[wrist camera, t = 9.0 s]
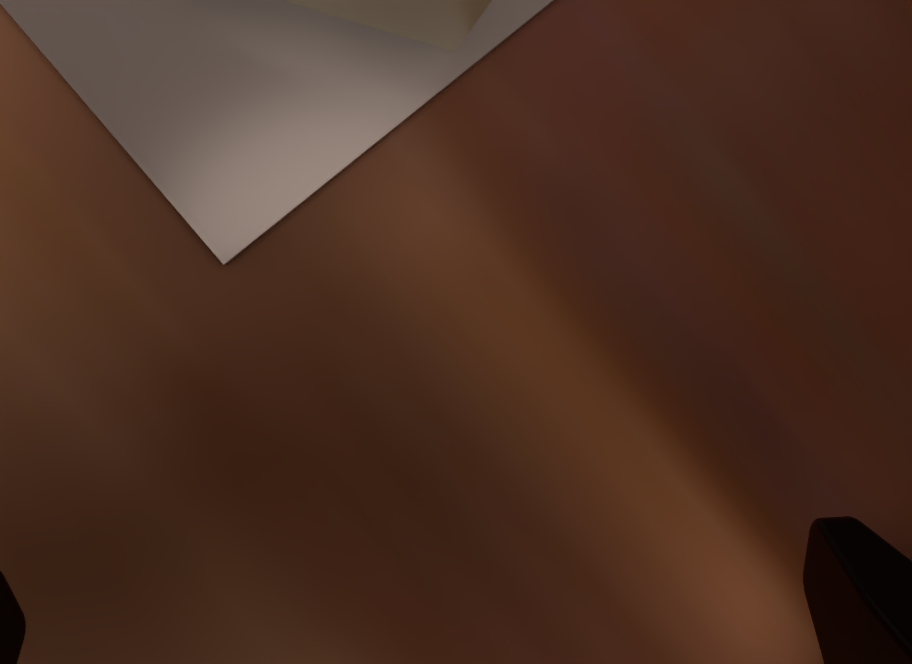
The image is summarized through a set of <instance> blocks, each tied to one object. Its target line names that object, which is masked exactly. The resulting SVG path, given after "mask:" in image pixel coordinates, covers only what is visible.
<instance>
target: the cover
mask: <svg viewBox="0 0 912 664" xmlns="http://www.w3.org/2000/svg"><path fill="white" fill-rule="evenodd" d="M283 1H286V2H289V3H292V4H296V5H299V6H302V7H306V8H309V9H312V10H316V11H319V12H322V13H326V14H329V15H332V16H336V17H339V18H342V19H346V20H349V21H352V22H356V23H359V24H362V25H366V26H369V27H372V28H376V29H379V30H382V31H386V32H389V33H392V34H396V35H399V36H402V37H406V38H409V39H412V40H416V41H419V42H422V43H425V44H429V45H432V46H435V47H439V48H442V49H445V50H449V51H452V52H455V51H456V50H457V48H458V47H459V46H460V44H461V43H462V41H463V40H464V39H465V37H466V36H467V35H468V33H469V32H470V30H471V29H472V28H473V26H474V25H475V24H476V22H477V21H478V19H479V18H480V17H481V15H482V14H483V12H484V11H485V10H486V8H487V7H488V6H489V4H490V3H491V1H492V0H283Z"/></svg>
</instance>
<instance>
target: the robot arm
mask: <svg viewBox="0 0 912 664" xmlns="http://www.w3.org/2000/svg"><path fill="white" fill-rule="evenodd" d="M803 584H804V591H805V596H806V599H807V603H808V607H809V610H810V614H811V617H812V621H813V624H814V628H815V632H816V635H817V639H818V642H819V646H820V649H821V653H822V657H823V660H824V664H912V561H911V560H910V559H908V558H907V557H906V556H904V555H903V554H902V553H900V552H899V551H898V550H897V549H895V548H894V547H893V546H891V545H890V544H889V543H888V542H886V541H885V540H884V539H882V538H881V537H880V536H879V535H877V534H876V533H875V532H873V531H872V530H871V529H869V528H868V527H867V526H866V525H864V524H863V523H862V522H860V521H859V520H857V519H855V518H853V517H848V516H845V517H828V518H818V519H816V520H814V521H813V522H812V524H811V526H810V530H809V537H808V543H807V550H806V557H805V563H804V570H803ZM25 629H26V624H25V617H24V614H23V612H22V610H21V608H20V606H19V604H18V602H17V600H16V598H15V596H14V594H13V592H12V590H11V588H10V586H9V584H8V582H7V581H6V579H5V577H4V575H3V573H2V572H1V571H0V664H17V661H18V657H19V654H20V651H21V647H22V644H23V641H24V636H25Z"/></svg>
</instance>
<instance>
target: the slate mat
mask: <svg viewBox="0 0 912 664" xmlns="http://www.w3.org/2000/svg"><path fill="white" fill-rule="evenodd" d="M555 1H556V0H492V1H491V3H490V4H489V6H488V7H487V8H486V10H485V11H484V12H483V14H482V15H481V17H480V18H479V19H478V21H477V22H476V24H475V25H474V26H473V28H472V29H471V30H470V32H469V33H468V35H467V36H466V37H465V39H464V40H463V41H462V43H461V44H460V46H459V47H458V48H457V50H456V51H455V52H452V51H449V50H445V49H442V48H439V47H435V46H432V45H429V44H425V43H422V42H419V41H416V40H412V39H409V38H406V37H402V36H399V35H396V34H392V33H389V32H386V31H382V30H379V29H376V28H372V27H369V26H366V25H362V24H359V23H356V22H352V21H349V20H346V19H342V18H339V17H336V16H332V15H329V14H326V13H322V12H319V11H316V10H312V9H309V8H306V7H302V6H299V5H296V4H292V3H289V2H286V1H283V0H0V4H1V5H2V6H3V7H4V9H5V10H6V11H7V12H8V13H9V14H10V16H11V17H12V18H13V19H14V20H15V21H16V23H17V24H18V25H19V26H20V27H21V28H22V30H23V31H24V32H25V33H26V34H27V36H28V37H29V38H30V39H31V40H32V41H33V43H34V44H35V45H36V46H37V47H38V48H39V50H40V51H41V52H42V53H43V54H44V55H45V57H46V58H47V59H48V60H49V61H50V62H51V64H52V65H53V66H54V67H55V68H56V69H57V71H58V72H59V73H60V74H61V75H62V76H63V78H64V79H65V80H66V81H67V82H68V83H69V85H70V86H71V87H72V88H73V89H74V90H75V92H76V93H77V94H78V95H79V96H80V97H81V99H82V100H83V101H84V102H85V103H86V104H87V106H88V107H89V108H90V109H91V110H92V112H93V113H94V114H95V115H96V116H97V117H98V119H99V120H100V121H101V122H102V123H103V124H104V126H105V127H106V128H107V129H108V130H109V131H110V133H111V134H112V135H113V136H114V137H115V138H116V140H117V141H118V142H119V143H120V144H121V145H122V147H123V148H124V149H125V150H126V151H127V152H128V154H129V155H130V156H131V157H132V158H133V159H134V161H135V162H136V163H137V164H138V165H139V166H140V168H141V169H142V170H143V171H144V172H145V173H146V175H147V176H148V177H149V178H150V179H151V180H152V182H153V183H154V184H155V185H156V186H157V188H158V189H159V190H160V191H161V192H162V193H163V195H164V196H165V197H166V198H167V199H168V200H169V202H170V203H171V204H172V205H173V206H174V207H175V209H176V210H177V211H178V212H179V213H180V214H181V216H182V217H183V218H184V219H185V220H186V221H187V223H188V224H189V225H190V226H191V227H192V228H193V230H194V231H195V232H196V233H197V234H198V235H199V237H200V238H201V239H202V240H203V241H204V242H205V244H206V245H207V246H208V247H209V248H210V249H211V251H212V252H213V253H214V254H215V255H216V256H217V258H218V259H219V260H220V261H221V262H222V264H223V265H227V264H229V263H230V262H231V261H232V260H234V259H235V258H236V257H237V256H239V255H240V254H241V253H242V252H244V251H245V250H246V249H247V248H249V247H250V246H251V245H252V244H254V243H255V242H256V241H257V240H258V239H260V238H261V237H262V236H263V235H265V234H266V233H267V232H268V231H270V230H271V229H272V228H273V227H275V226H276V225H277V224H278V223H280V222H281V221H282V220H283V219H285V218H286V217H287V216H288V215H290V214H291V213H292V212H293V211H295V210H296V209H297V208H298V207H300V206H301V205H302V204H303V203H305V202H306V201H307V200H308V199H310V198H311V197H312V196H313V195H315V194H316V193H317V192H318V191H319V190H321V189H322V188H323V187H324V186H326V185H327V184H328V183H329V182H331V181H332V180H333V179H334V178H336V177H337V176H338V175H339V174H341V173H342V172H343V171H344V170H346V169H347V168H348V167H349V166H351V165H352V164H353V163H354V162H356V161H357V160H358V159H359V158H361V157H362V156H363V155H364V154H366V153H367V152H368V151H369V150H371V149H372V148H373V147H374V146H376V145H377V144H378V143H379V142H380V141H382V140H383V139H384V138H385V137H387V136H388V135H389V134H390V133H392V132H393V131H394V130H395V129H397V128H398V127H399V126H400V125H402V124H403V123H404V122H405V121H407V120H408V119H409V118H410V117H412V116H413V115H414V114H415V113H417V112H418V111H419V110H420V109H422V108H423V107H424V106H425V105H427V104H428V103H429V102H430V101H432V100H433V99H434V98H435V97H437V96H438V95H439V94H440V93H441V92H443V91H444V90H445V89H446V88H448V87H449V86H450V85H451V84H453V83H454V82H455V81H456V80H458V79H459V78H460V77H461V76H463V75H464V74H465V73H466V72H468V71H469V70H470V69H471V68H473V67H474V66H475V65H476V64H478V63H479V62H480V61H481V60H483V59H484V58H485V57H486V56H488V55H489V54H490V53H491V52H493V51H494V50H495V49H496V48H498V47H499V46H500V45H501V44H502V43H504V42H505V41H506V40H507V39H509V38H510V37H511V36H512V35H514V34H515V33H516V32H517V31H519V30H520V29H521V28H522V27H524V26H525V25H526V24H527V23H529V22H530V21H531V20H532V19H534V18H535V17H536V16H537V15H539V14H540V13H541V12H542V11H544V10H545V9H546V8H547V7H549V6H550V5H551V4H552V3H554V2H555Z"/></svg>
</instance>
